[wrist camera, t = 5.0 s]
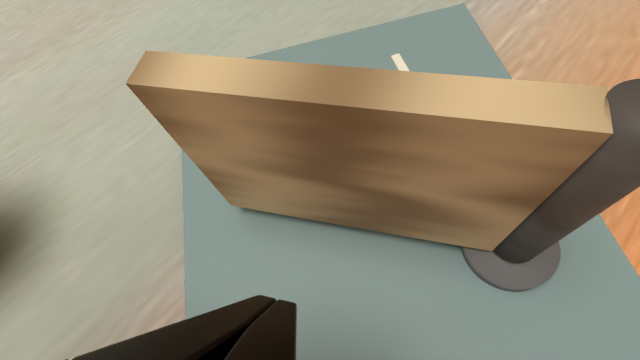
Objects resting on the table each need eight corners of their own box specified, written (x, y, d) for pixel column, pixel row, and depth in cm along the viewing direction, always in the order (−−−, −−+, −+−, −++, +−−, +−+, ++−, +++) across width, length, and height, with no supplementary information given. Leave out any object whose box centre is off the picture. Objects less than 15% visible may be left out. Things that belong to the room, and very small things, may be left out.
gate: (537, 223, 14) (700, 82, 7) (539, 267, 13) (723, 157, 6) (241, 177, 17) (150, 43, 10) (228, 211, 16) (120, 92, 9)
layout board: (726, 428, 12) (755, 432, 11) (196, 551, 12) (182, 566, 11) (462, 9, 22) (465, -6, 21) (183, 79, 22) (175, 67, 22)
